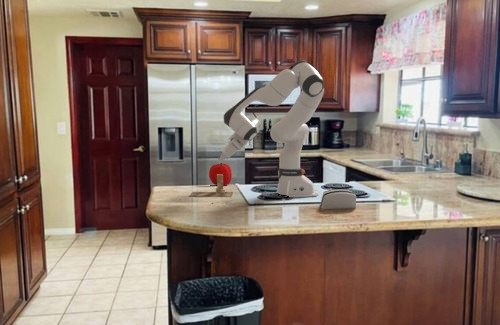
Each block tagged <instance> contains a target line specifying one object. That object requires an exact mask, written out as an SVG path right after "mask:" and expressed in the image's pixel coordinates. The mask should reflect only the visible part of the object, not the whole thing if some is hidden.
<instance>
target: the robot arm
mask: <svg viewBox="0 0 500 325" xmlns="http://www.w3.org/2000/svg"><path fill="white" fill-rule="evenodd" d="M297 88H300V89H301V92H300V93H299V95H298V96H297V98H296V100H295V102H294V104H292V107H291V108H290V110H289V111H288V112H286V114H285V115H284V116H283V117H282V118H281V119H280V120H279V121H278V122H276V123H274V124H273V125H272V126H271V128H270V131H269V132H270V133H269V134H270V137H271V139H272V141H274V142H275V143H279V144H284V146H283V148H282V150H281V151H280V153H279V159H278V160H279V165H278V166H279V167H278V172H277V173H278V174H277V176H278V185H277V188H276V192H275V193H279V194H285V195H287V196H289V197H288V198H303V197H305V198H306V197H318V196H319V192H318V190H316V189H315V185H314V183H313V181H311V179H310V178H308V177H307V176H305V175H304V174H306V171H305V169H303V168H301V155H302V154H301V152H302V149H303V145H304V142H305V141H306V139H307V138H308V136H309V134H310V129H309V126H308V124H306V123H308V122H309V121H310V120H311V119H312V117H313V116H314V114H315V111H317V108H318V106H319V105H320V103H321V101H322V98H323V97H324V93H325V82H324V79H323V77H322V76H321V74H320V73H319V72H318V71H317V70H316V68H314V67H313V66H312V65H311V64H310V63H309V62H308V61H307V60H303V59H300V60H297V61H295V62H294V63H293V64H291V66H289V68H285V69H283V70H282V71H280V72H279V73H277V75H275V76H274V77H273V79H272V80H271V81H270V82H269V83H268V84H267V85H266V86H262V87H261V86H258V87H256V88H255V89H253V90H251V91H250V92H249V93H248V94H246V95H245V96H244V97H243V98H242V99H241V100H239V101H238V102H237V103H236V104H235V105H234V106H232V107H231V108H229V109H228V110H226V112H225V113H223V122H224V125H226V126H228V127H229V128H230V129H231V130H232V131H233V132H234V133H233V134H231V135H230V137H229V138H228V140H229V141H228V142H227V143H228V144H227V145H226V146H225V147H224V148H223V149H222V152H221V154H220V155H219V156H218V157H217V163H218V164H221V163H223V161H224V160H225V159H227V160H228V159H229V158H231V157H232V156H233V155H234V154H235V153H237V152H238V151H241V150H243V148H245V146H246V145H247V144H248V143H249V142H251V141H253V140H254V138H255V137H256V136H257V135H258V133H259V131H261V129H262V127H263V125H262V122H261V120H259V118H257V116H254V115H252V116H251V117H249V118H248V117H247V116H246V115H245V114H244V112H243V110H245V109H246V108H247V107H248V106H249V105H251V104H253V102H256V101H257V102H259V103H262V104H265V105H267V106H270V107H271V106H272V107H277V106H280V105H282V104H283V103H284V102H285V100H286V99H288V97H289V96H290V95H291V94H292V92H293V91H294V90H296V89H297ZM287 196H286V197H287Z"/></svg>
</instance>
